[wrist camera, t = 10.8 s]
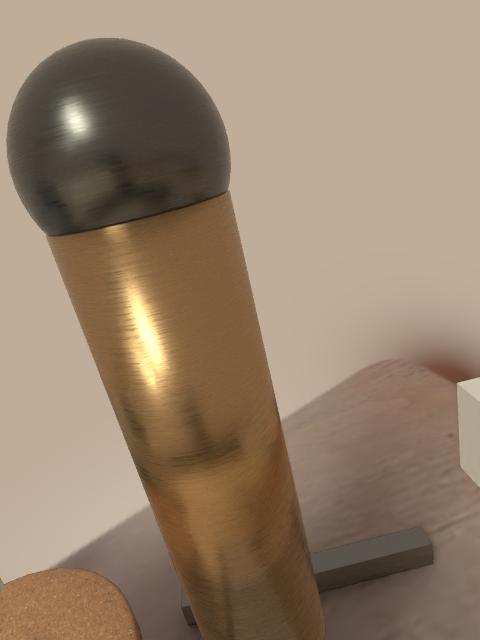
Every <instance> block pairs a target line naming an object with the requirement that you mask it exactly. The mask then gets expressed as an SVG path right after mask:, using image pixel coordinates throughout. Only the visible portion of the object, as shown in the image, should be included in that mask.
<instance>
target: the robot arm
mask: <svg viewBox="0 0 480 640" xmlns="http://www.w3.org/2000/svg"><path fill="white" fill-rule="evenodd" d="M457 397H458V422H459V448H460V467H461V468H462V469H463V470H464V471H465V472H466V473H467V474H468V476H469V477H470V478H471V479H472V480H473V481H474V482H475V483H476V484H477V486H478V487H479V488H480V377H479V378H475V379H471V380H467V381H463V382H459V383H457ZM4 586H5V585H4V584H3V582H2V580H1V579H0V595H1V592H2V590H3V588H4Z"/></svg>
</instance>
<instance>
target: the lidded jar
mask: <svg viewBox="0 0 480 640" xmlns="http://www.w3.org/2000/svg"><path fill="white" fill-rule="evenodd" d="M4 585H5V586H4V588H3V590H2V592H1V595H0V640H142V636H141V632H140V628H139V625H138V623H137V621H136V618H135V616H134V613H133V611H132V609H131V606H130V604H129V602H128V601H127V599H126V598H125V596H124V595H123V594H122V592H121V591H120V589H119V588H118V587H117V586H115V585H114V584H113V583H112V582H111V581H110V580H108V579H107V578H105V577H103V576H101V575H99V574H97V573H95V572H91V571H87V570H82V569H72V568H59V569H51V570H45V571H40V572H36V573H32V574H28V575H26V576H23V577H21V578H18V579H15V580H13V581H11V582H8V583H6V584H4Z"/></svg>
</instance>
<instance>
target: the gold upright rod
mask: <svg viewBox="0 0 480 640" xmlns="http://www.w3.org/2000/svg"><path fill="white" fill-rule="evenodd" d="M6 141H7V158H8V163H9V169H10V173H11V176H12V179H13V183H14V185H15V189H16V191H17V193H18V195H19V197H20V199H21V201H22V203H23V205H24V206H25V208H26V210H27V211H28V213H29V214H30V216H31V217H32V219H33V220H34V221H35V222H36V223H37V225H38V226H39V227H40V228H41V230H43V231H44V232H45V233H46V234H47V236H46V237H47V240H48V242H49V245H50V248H51V250H52V253H53V256H54V258H55V261H56V263H57V266H58V268H59V271H60V273H61V276H62V279H63V281H64V284H65V286H66V289H67V292H68V294H69V297H70V299H71V302H72V304H73V307H74V309H75V312H76V315H77V317H78V320H79V322H80V325H81V327H82V330H83V332H84V335H85V337H86V340H87V343H88V345H89V348H90V350H91V353H92V356H93V358H94V361H95V363H96V366H97V368H98V371H99V373H100V376H101V379H102V381H103V384H104V386H105V389H106V392H107V394H108V397H109V399H110V402H111V404H112V407H113V409H114V412H115V415H116V417H117V420H118V422H119V425H120V428H121V430H122V433H123V435H124V438H125V440H126V443H127V445H128V448H129V451H130V453H131V456H132V458H133V461H134V464H135V466H136V469H137V471H138V474H139V476H140V479H141V481H142V484H143V487H144V489H145V492H146V494H147V497H148V499H149V502H150V505H151V507H152V510H153V512H154V515H155V517H156V520H157V523H158V525H159V528H160V530H161V533H162V535H163V538H164V541H165V543H166V546H167V548H168V551H169V553H170V556H171V559H172V561H173V564H174V566H175V569H176V571H177V574H178V577H179V579H180V582H181V584H182V587H183V589H184V592H185V594H186V597H187V600H188V602H189V605H190V607H191V610H192V612H193V615H194V618H195V620H196V623H197V625H198V628H199V630H200V633H201V636H202V638H203V640H324V639H325V620H324V615H323V611H322V606H321V602H320V597H319V592H318V588H317V583H316V579H315V574H314V570H313V565H312V561H311V556H310V552H309V547H308V543H307V538H306V534H305V529H304V525H303V520H302V516H301V511H300V507H299V502H298V498H297V493H296V489H295V484H294V480H293V475H292V471H291V466H290V462H289V457H288V453H287V448H286V443H285V439H284V434H283V430H282V425H281V421H280V416H279V412H278V407H277V403H276V398H275V394H274V389H273V385H272V380H271V376H270V371H269V367H268V362H267V358H266V353H265V349H264V344H263V340H262V336H261V331H260V326H259V322H258V318H257V313H256V308H255V304H254V299H253V294H252V290H251V285H250V281H249V276H248V272H247V268H246V263H245V258H244V254H243V249H242V245H241V240H240V236H239V231H238V227H237V222H236V218H235V213H234V209H233V204H232V200H231V195H230V191H229V190H228V187H229V181H230V171H231V163H230V162H231V161H230V149H229V143H228V137H227V134H226V130H225V126H224V123H223V121H222V118H221V116H220V114H219V111H218V109H217V107H216V105H215V104H214V102H213V100H212V99H211V97H210V95H209V94H208V92H207V91H206V90H205V88H204V87H203V86H202V84H201V83H200V82H199V81H198V80H197V79H196V78H195V77H194V76H193V75H192V73H191V72H190V71H188V70H187V69H186V68H185V67H184V66H182V65H181V64H180V63H179V62H177V61H176V60H175V59H173V58H171V57H170V56H168V55H167V54H165V53H163V52H162V51H160V50H157V49H155V48H153V47H150V46H148V45H146V44H142V43H139V42H135V41H131V40H126V39H118V38H96V39H89V40H84V41H80V42H77V43H74V44H72V45H69V46H67V47H65V48H62V49H60V50H58V51H56V52H55V53H53V54H52V55H51V56H49V57H48V58H47V59H45V60H44V61H42V62H41V63H40V64H39V65H38V66H37V67H36V68H35V69H34V71H33V72H32V73H31V74H30V75H29V76H28V77H27V79H26V80H25V82H24V84H23V85H22V87H21V88H20V90H19V92H18V94H17V97H16V99H15V101H14V104H13V106H12V110H11V114H10V118H9V122H8V129H7V139H6Z"/></svg>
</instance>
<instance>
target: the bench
mask: <svg viewBox="0 0 480 640" xmlns="http://www.w3.org/2000/svg"><path fill="white" fill-rule="evenodd" d="M310 556H311V561H312V565H313V570H314V574H315V579H316V583H317V588H318V592H323V591H327V590H330V589H334V588H338V587H342V586H346V585H350V584H354V583H358V582H362V581H366V580H370V579H374V578H378V577H382V576H386V575H389V574H393V573H397V572H401V571H405V570H409V569H413V568H417V567H421V566H425V565H429V564H433V550H432V543H431V541H430V540H429V538H428V537H427V535H426V533H425V532H424V530H423V529H422V527H421V526H420V527H416V528H412V529H408V530H404V531H400V532H396V533H392V534H388V535H384V536H380V537H376V538H372V539H368V540H364V541H361V542H357V543H353V544H349V545H345V546H341V547H337V548H333V549H329V550H325V551H321V552H317V553H313V554H310ZM181 608H182V611H183V613H184V616H185V618H186V621H187V623H188V626H189V625H193V624H197V623H196V620H195V618H194V615H193V612H192V610H191V607H190V605H189V602H188V600H187V597H186V594H185V592H184V589H183V587H182V601H181Z"/></svg>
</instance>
